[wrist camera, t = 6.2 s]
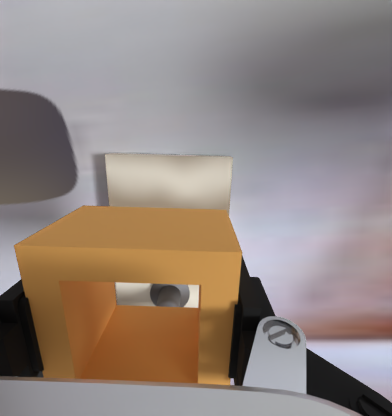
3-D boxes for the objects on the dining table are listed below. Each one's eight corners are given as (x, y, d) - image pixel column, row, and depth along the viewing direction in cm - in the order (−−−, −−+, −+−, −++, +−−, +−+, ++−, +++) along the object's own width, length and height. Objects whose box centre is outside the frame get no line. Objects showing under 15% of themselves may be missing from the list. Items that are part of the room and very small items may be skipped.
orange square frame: (83, 205, 10) (14, 245, 6) (226, 209, 10) (242, 252, 6) (97, 321, 12) (50, 406, 8) (218, 325, 12) (227, 412, 8)
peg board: (112, 153, 23) (72, 158, 16) (229, 156, 24) (247, 163, 16) (125, 329, 29) (101, 395, 22) (218, 330, 30) (227, 396, 22)
